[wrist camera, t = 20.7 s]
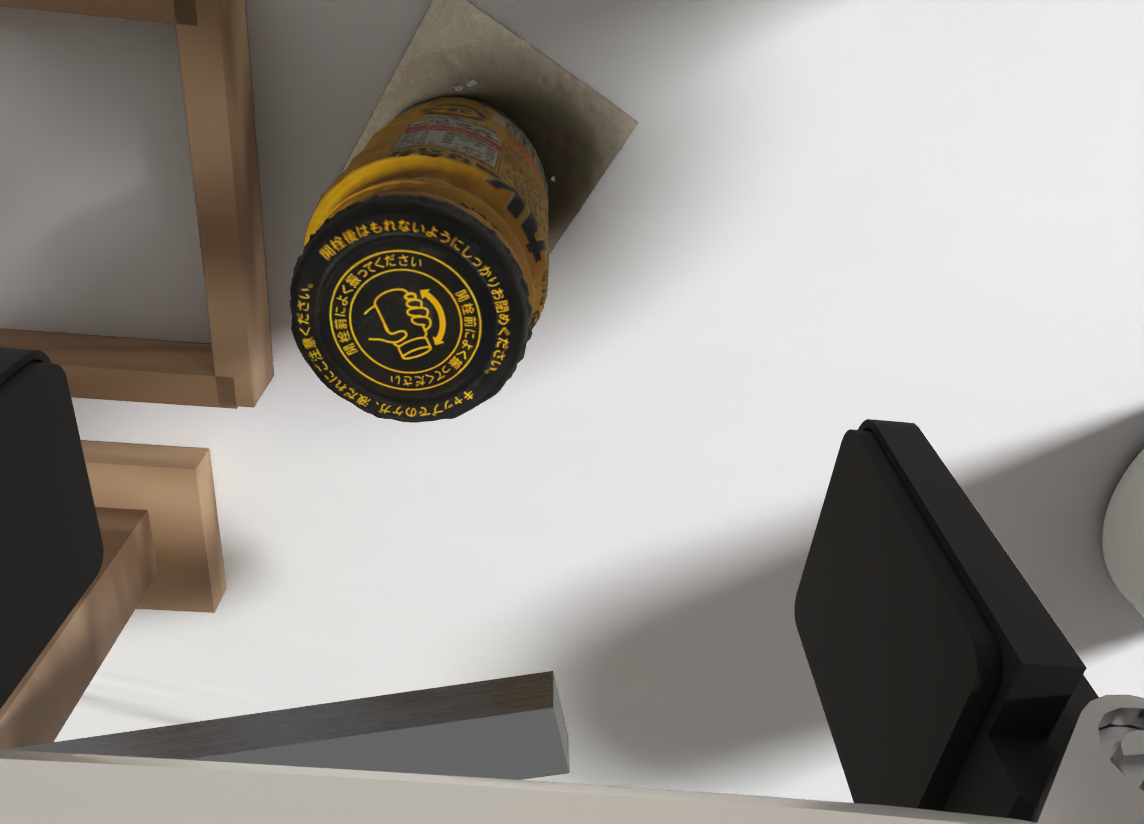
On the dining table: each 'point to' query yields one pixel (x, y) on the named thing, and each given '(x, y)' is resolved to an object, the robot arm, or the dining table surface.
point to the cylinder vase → (1127, 534)
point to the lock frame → (163, 377)
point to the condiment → (448, 220)
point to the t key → (376, 734)
